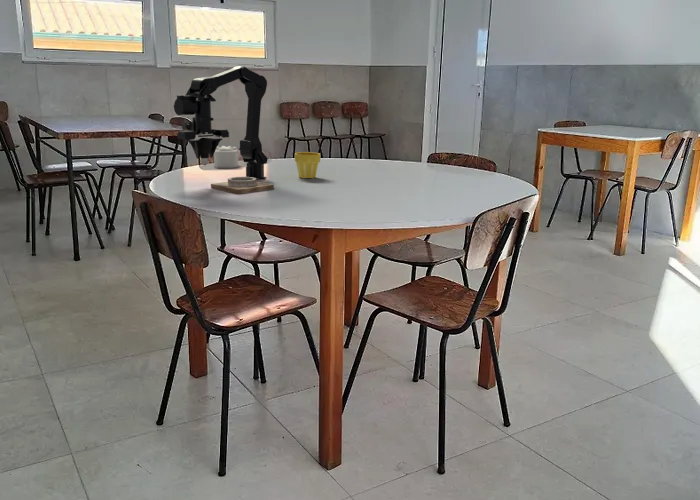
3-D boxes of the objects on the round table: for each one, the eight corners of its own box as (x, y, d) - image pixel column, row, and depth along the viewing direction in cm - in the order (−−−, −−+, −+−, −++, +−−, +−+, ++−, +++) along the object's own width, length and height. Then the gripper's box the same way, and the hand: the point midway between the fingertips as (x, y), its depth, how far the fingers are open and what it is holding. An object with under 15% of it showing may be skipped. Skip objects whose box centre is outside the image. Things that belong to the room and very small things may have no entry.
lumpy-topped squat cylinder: (213, 167, 276) (212, 147, 274) (216, 163, 288) (215, 144, 286) (237, 167, 277) (236, 148, 275) (238, 163, 290) (238, 144, 287)
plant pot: (325, 178, 254) (325, 154, 251) (303, 180, 248) (303, 155, 245) (311, 174, 262) (311, 151, 259) (289, 176, 256) (289, 152, 253)
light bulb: (209, 166, 226) (208, 138, 224) (194, 165, 227) (192, 138, 225) (215, 164, 232) (214, 137, 229) (200, 163, 233) (199, 136, 230)
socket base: (246, 183, 238) (246, 174, 237) (273, 188, 227) (273, 179, 226) (210, 187, 226) (210, 178, 225) (238, 194, 216) (237, 184, 215)
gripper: (211, 112, 237) (213, 154, 241) (167, 114, 224) (170, 157, 228) (229, 114, 229) (230, 157, 234) (185, 115, 216) (187, 161, 220)
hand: (204, 158), depth 229 cm, fingers closed on light bulb, 5 cm apart
